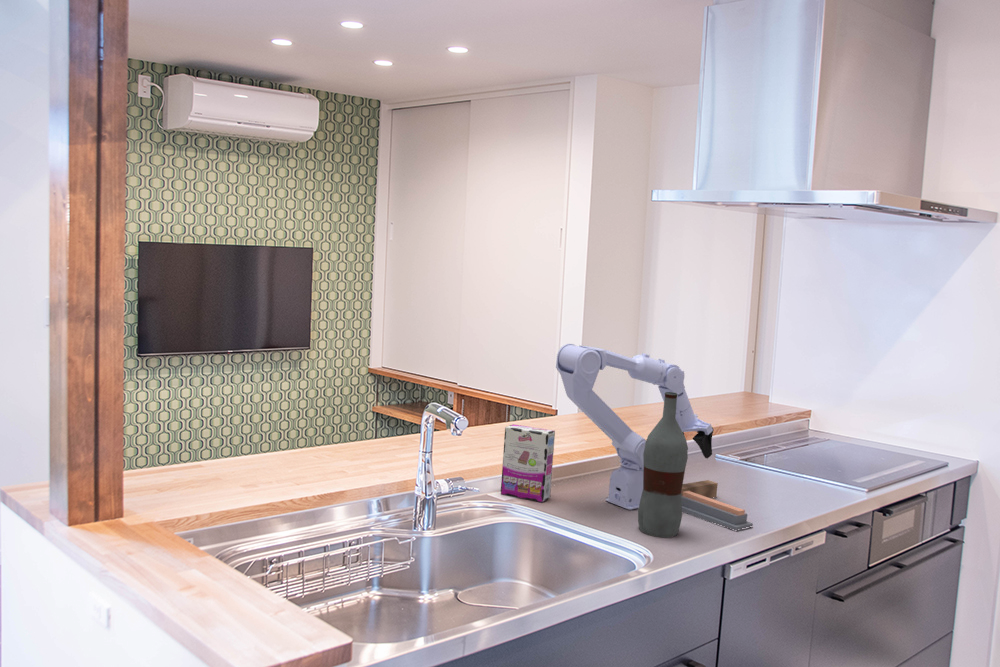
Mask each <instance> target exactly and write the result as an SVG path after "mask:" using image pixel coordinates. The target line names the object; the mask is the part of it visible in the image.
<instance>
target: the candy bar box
mask: <svg viewBox="0 0 1000 667" xmlns="http://www.w3.org/2000/svg"><path fill="white" fill-rule="evenodd" d="M555 436H556V430H552V429H546V428H542V427H541V428H540V427H532V426H525V425H522V424H521V425H519V424H510V425H507V426H505V427H504V439H503V455H502V470H501V481H500V482H501V484H500V495H505V496H508V497H514V498H519V499H523V500H530V501H534V502H539V503H543V502H545V501H548V500H549V499H550V498H551V490H552V478H553V477H552V476H553V463H554V451H555V450H554V448H555V438H556V437H555Z"/></svg>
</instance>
